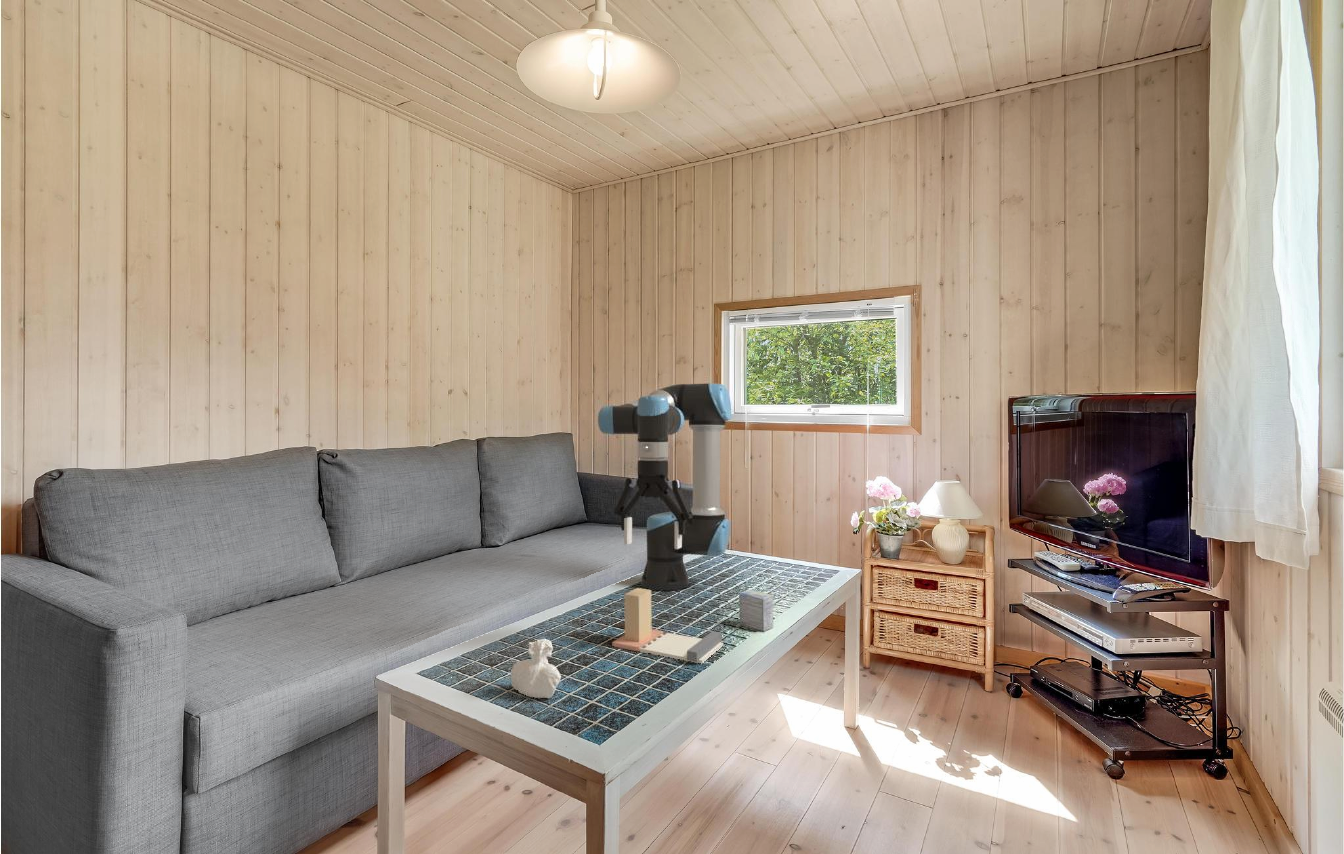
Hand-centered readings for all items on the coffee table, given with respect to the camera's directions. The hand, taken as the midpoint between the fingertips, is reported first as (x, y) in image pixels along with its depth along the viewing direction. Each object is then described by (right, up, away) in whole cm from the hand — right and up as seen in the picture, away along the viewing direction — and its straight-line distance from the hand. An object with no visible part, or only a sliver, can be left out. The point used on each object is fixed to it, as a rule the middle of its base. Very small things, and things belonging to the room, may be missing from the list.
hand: (652, 546), depth 157 cm
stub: (-3, -23, 0) cm, 23 cm away
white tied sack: (-22, -25, -27) cm, 43 cm away
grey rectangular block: (+27, -23, +10) cm, 37 cm away
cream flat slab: (+7, -24, -6) cm, 25 cm away
